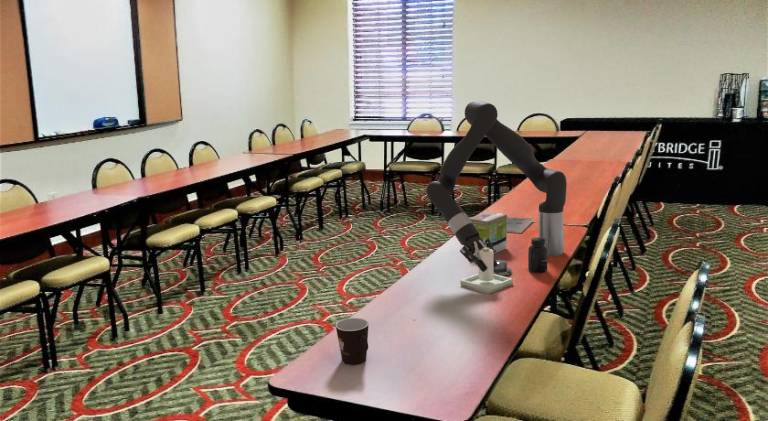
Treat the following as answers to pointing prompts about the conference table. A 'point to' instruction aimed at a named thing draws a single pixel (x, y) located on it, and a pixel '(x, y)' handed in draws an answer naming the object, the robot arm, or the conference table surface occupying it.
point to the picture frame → (518, 224)
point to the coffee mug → (353, 340)
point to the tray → (486, 283)
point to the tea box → (492, 228)
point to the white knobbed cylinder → (487, 258)
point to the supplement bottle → (537, 256)
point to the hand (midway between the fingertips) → (490, 268)
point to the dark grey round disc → (502, 268)
